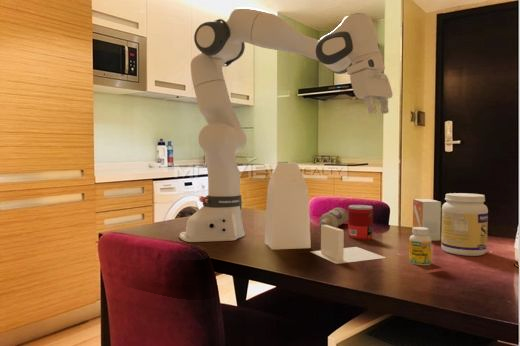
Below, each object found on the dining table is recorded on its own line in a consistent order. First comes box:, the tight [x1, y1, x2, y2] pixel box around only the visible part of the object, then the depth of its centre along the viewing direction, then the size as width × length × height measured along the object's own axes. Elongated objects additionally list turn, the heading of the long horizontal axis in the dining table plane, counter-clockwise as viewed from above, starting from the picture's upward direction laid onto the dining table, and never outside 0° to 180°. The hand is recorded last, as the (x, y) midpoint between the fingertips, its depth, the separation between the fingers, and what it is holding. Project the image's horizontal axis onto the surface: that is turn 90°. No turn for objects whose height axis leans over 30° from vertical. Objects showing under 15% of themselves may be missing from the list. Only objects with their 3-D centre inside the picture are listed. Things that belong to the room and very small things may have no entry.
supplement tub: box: [440, 192, 489, 257], centre depth 123 cm, size 12×12×17 cm
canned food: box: [347, 204, 374, 242], centre depth 142 cm, size 8×8×11 cm
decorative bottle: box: [318, 207, 348, 229], centre depth 161 cm, size 26×8×7 cm, turn 154°
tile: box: [320, 225, 345, 260], centre depth 116 cm, size 2×9×8 cm, turn 22°
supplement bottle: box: [408, 226, 432, 266], centre depth 110 cm, size 5×5×10 cm
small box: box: [412, 198, 442, 242], centre depth 143 cm, size 8×6×13 cm
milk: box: [264, 162, 312, 250], centre depth 130 cm, size 12×12×26 cm
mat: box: [310, 246, 387, 265], centre depth 118 cm, size 16×14×1 cm
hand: (379, 113), depth 124 cm, fingers open, 8 cm apart
